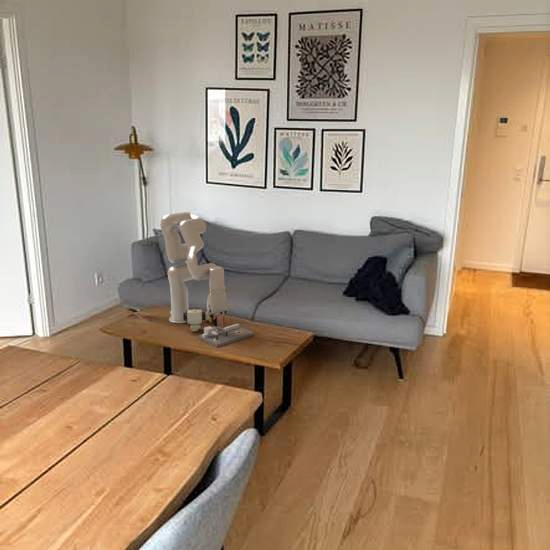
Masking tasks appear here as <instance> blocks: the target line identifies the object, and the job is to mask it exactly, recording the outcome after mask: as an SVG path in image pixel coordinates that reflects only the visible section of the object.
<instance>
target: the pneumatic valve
mask: <svg viewBox="0 0 550 550" xmlns="http://www.w3.org/2000/svg"><path fill="white" fill-rule="evenodd" d="M206 313H207V311H204V309H196V308H193V309H189V310H186V313H183V320H184V321H186V325H187V324H189V325H190V327H189V328H190V331H191V332H199V331H200V330H201V325H200V324H204V321H207V315H206ZM198 330H199V331H198Z"/></svg>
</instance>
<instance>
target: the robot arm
mask: <svg viewBox="0 0 550 550" xmlns="http://www.w3.org/2000/svg"><path fill="white" fill-rule="evenodd" d="M159 223H160V230H161V231H160V232H161V233H162V236H163V238H164V244H165V249H166V255H167V259H168V261H169V262H170V263H171V264H175V263H176V264H175V265H172V266H171V267H169V268H168V270H167V278H168V283H169V290H170V292H169V293H170V309H171V310H170V311H169V313H170V314H171V316H170V317H168V318H169V319H168V321H169V322H170V323H173V324H185V323H186V321H184V320H183V313H186V310H190V309H189V290H188V286H187V285H186V284H185V282H186V281H192V280H195V281H204V280H208V281H209V283H208V284H209V293H208V295H207V298H206V299H207V301H206V316H208V317H209V318H211V326H215V327H216V326H217V320H216V319H215V318H216V313H221V314H223V324H224V325H225V317H226V314H227V312H229V310H230V308H229V305H228V299H227V294H226V292H225V290H227V287H226V286H225V269H224V268H223V267H222V266H219V265H216V264H215V263H211V262H210V263H206V264H200V265H198V260H197V259H198V258H197V253H198V252H199V251H201V250H202V249H203V248H204V246H205V243H204V241H203V239H202V237H201V235H202V234H204V233H205V232H206V230H207V224H206V222H205V220H204V219H203V218H201V217H200V216H198V215H196V214H194V213H192V212H190V211H189V212H188V211H184V212H175V213H169V214H166V215H164V216H163V217H161V219H160V222H159ZM177 230H179V231H180V234H181V236H182V239H183V240H184V242H185V243H182V240H181V236H180V234H179V233H178V231H177ZM182 262H185V263H182ZM177 263H181V264H177ZM213 314H214V315H213Z"/></svg>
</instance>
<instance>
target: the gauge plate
mask: <svg viewBox="0 0 550 550" xmlns="http://www.w3.org/2000/svg"><path fill="white" fill-rule="evenodd" d="M223 329H225V330H227V336H226V333H225V332H223V331H216V330H214V328H213V327H212V326H210V325H209V326H205V327H203V333H202V334H199V335H197V339H198V338H200V339H202V340H204V341H206V342H208V343H207V344H209V343H210V344H209V345H211V344H212V345H211V346H213V345H214V346H213V347H215V346H216V347H215V348H219V347H218V346H220V345H223V346H225V345H224V344H226V345H228V344H227V343H229V344H231V342H232V343H235V342H237V340H238V341H240V339H241V340H244V339H246V338H245V337H247V338H249V336H250V337H252V335H253V336H254V335H255V332H253V331H251V330H249V329H246V328H244V327H241V326H240V323H236V324H235V323H234V324H231V325H229V326H225V327H223ZM243 338H244V339H243ZM200 339H199V340H200ZM202 340H201V341H202ZM204 341H203V342H204ZM234 341H235V342H234ZM206 342H205V343H206ZM220 347H221V346H220Z"/></svg>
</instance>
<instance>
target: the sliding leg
mask: <svg viewBox="0 0 550 550" xmlns="http://www.w3.org/2000/svg"><path fill="white" fill-rule="evenodd" d="M213 315H214V314H213ZM215 319H216V320H217V326H216V327H215V326H213V325H212V326H213V328H214V331H215V330H216V331H223V332H225V333H226V336H227V330H225V329H223V328H224V325H225V323H224V324H223V314H221V313H220V312H219V313H216V318H215Z"/></svg>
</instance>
